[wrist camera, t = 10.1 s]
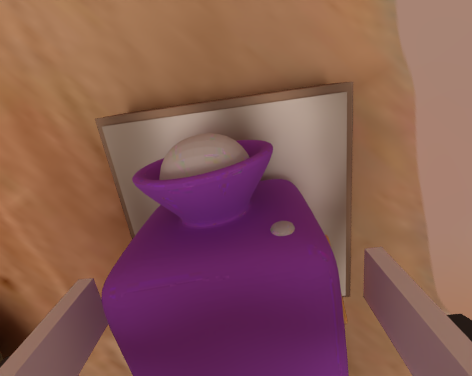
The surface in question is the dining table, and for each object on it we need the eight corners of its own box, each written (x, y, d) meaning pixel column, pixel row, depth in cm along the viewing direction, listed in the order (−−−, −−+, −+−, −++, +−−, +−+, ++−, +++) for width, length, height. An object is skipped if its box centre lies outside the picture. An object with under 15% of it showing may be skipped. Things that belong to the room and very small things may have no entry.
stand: (170, 274, 27) (153, 317, 22) (127, 112, 21) (91, 119, 16) (330, 258, 26) (352, 300, 21) (327, 84, 20) (355, 81, 15)
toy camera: (269, 95, 16) (310, 102, 6) (332, 273, 20) (414, 438, 10) (114, 163, 17) (-41, 250, 8) (203, 314, 21) (172, 488, 12)
